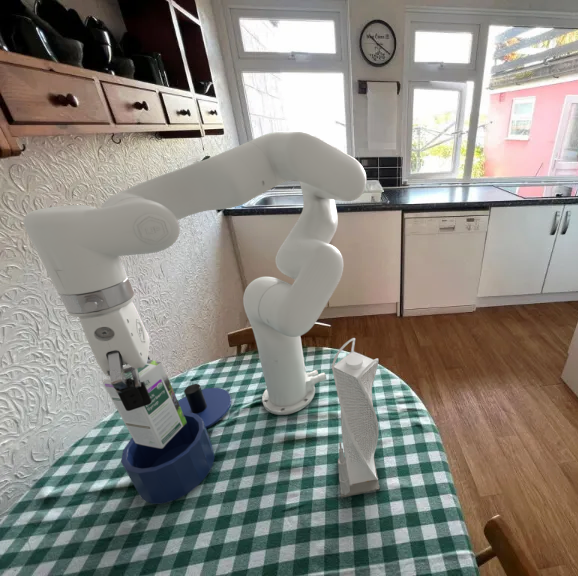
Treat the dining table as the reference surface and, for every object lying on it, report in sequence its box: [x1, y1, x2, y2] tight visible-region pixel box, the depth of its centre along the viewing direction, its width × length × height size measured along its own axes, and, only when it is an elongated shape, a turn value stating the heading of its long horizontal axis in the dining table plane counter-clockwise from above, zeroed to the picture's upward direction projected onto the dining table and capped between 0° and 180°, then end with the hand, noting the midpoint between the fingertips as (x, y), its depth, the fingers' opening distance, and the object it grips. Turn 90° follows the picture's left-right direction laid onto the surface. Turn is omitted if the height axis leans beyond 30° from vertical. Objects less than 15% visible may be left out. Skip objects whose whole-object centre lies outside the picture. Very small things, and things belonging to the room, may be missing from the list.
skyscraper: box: [331, 337, 380, 499], centre depth 54 cm, size 8×8×28 cm
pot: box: [120, 412, 215, 505], centre depth 59 cm, size 13×13×8 cm
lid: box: [178, 383, 232, 429], centre depth 72 cm, size 14×14×7 cm
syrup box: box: [101, 359, 187, 449], centre depth 53 cm, size 6×6×14 cm
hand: (141, 389), depth 52 cm, fingers closed on syrup box, 7 cm apart
